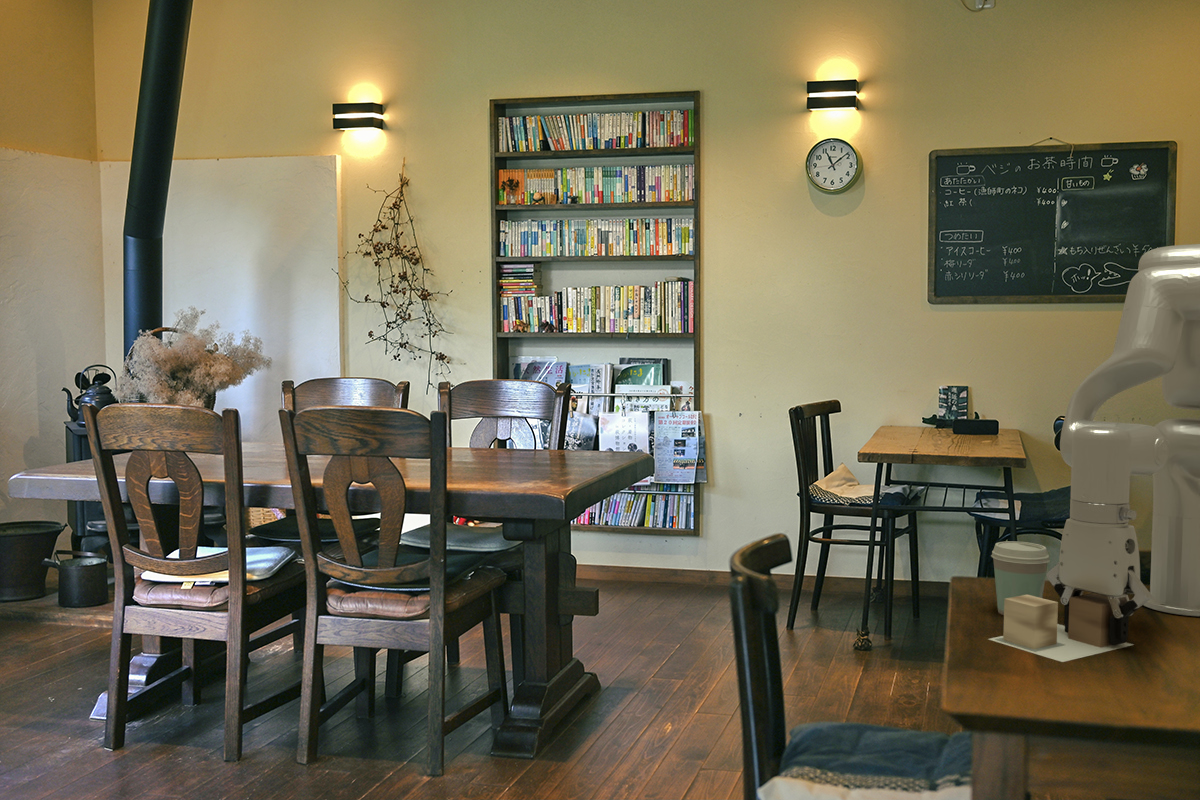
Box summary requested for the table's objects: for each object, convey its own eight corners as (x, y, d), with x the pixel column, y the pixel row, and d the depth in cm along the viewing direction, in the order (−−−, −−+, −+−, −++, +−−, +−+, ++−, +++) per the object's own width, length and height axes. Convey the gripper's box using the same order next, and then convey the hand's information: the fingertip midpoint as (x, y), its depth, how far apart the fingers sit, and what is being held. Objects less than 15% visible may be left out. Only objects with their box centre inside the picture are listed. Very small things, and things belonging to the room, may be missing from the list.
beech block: (1026, 635, 146) (1027, 594, 146) (1056, 644, 142) (1057, 602, 142) (1003, 639, 144) (1004, 598, 144) (1033, 649, 140) (1035, 606, 139)
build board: (1058, 631, 152) (1058, 623, 152) (1133, 653, 142) (1134, 644, 142) (987, 647, 144) (987, 638, 144) (1062, 670, 134) (1062, 661, 134)
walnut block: (1089, 633, 147) (1090, 593, 147) (1121, 642, 143) (1123, 600, 143) (1068, 638, 145) (1069, 597, 145) (1100, 647, 141) (1101, 605, 140)
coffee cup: (1054, 630, 153) (1056, 552, 153) (994, 626, 155) (996, 550, 155) (1041, 615, 162) (1043, 541, 161) (985, 612, 164) (987, 539, 163)
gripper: (1174, 520, 137) (1169, 649, 138) (1061, 502, 152) (1057, 619, 153) (1141, 525, 134) (1137, 657, 135) (1029, 506, 149) (1025, 626, 150)
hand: (1095, 636), depth 144 cm, fingers open, 6 cm apart
